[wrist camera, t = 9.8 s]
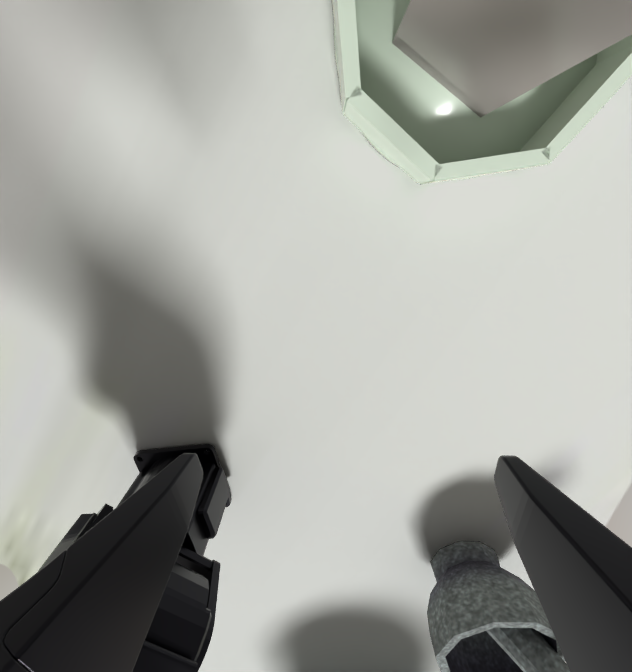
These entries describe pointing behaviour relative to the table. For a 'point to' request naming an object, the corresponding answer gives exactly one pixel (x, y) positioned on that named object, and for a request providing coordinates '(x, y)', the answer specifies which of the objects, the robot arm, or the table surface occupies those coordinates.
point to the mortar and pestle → (487, 616)
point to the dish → (458, 103)
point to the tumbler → (506, 42)
